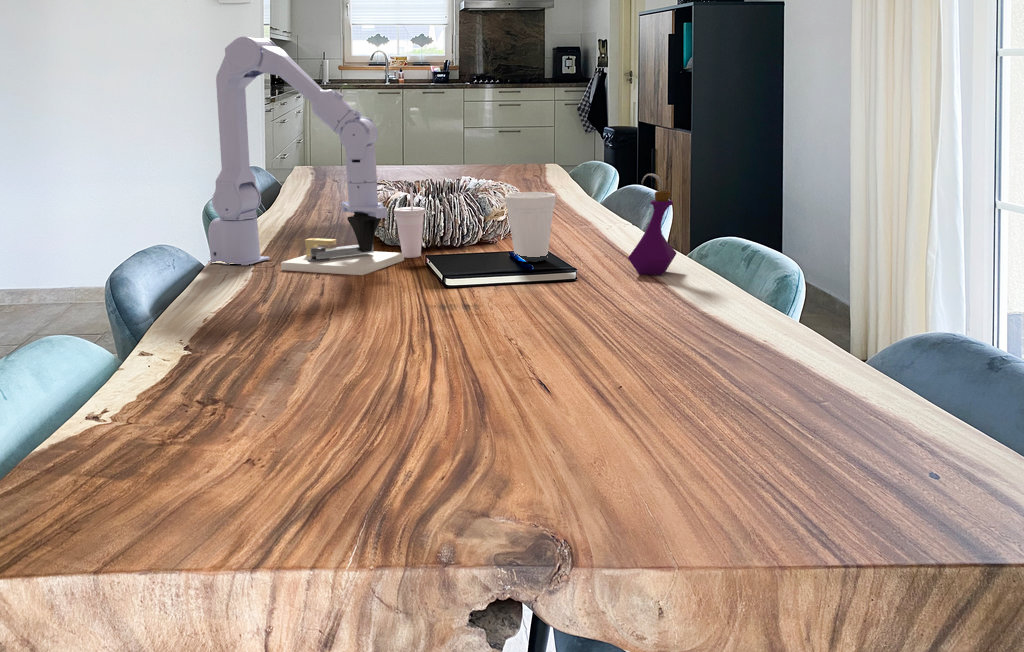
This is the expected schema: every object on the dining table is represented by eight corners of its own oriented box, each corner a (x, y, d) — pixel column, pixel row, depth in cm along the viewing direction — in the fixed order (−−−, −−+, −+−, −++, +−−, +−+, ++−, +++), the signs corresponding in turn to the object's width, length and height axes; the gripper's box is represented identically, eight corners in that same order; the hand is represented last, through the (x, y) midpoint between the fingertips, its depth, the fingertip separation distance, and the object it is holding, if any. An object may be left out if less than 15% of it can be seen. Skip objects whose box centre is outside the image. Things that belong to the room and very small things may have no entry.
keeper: (306, 256, 200) (304, 239, 199) (311, 254, 202) (310, 238, 201) (331, 257, 198) (330, 240, 197) (337, 255, 200) (336, 239, 199)
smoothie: (422, 259, 203) (419, 189, 199) (391, 258, 204) (388, 189, 201) (430, 253, 209) (428, 185, 205) (401, 253, 210) (398, 185, 207)
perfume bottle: (676, 270, 186) (678, 171, 182) (669, 277, 179) (670, 176, 175) (636, 268, 189) (637, 171, 184) (627, 275, 182) (628, 175, 177)
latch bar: (315, 259, 193) (314, 249, 193) (308, 257, 195) (308, 247, 195) (373, 252, 200) (373, 242, 199) (367, 250, 202) (366, 241, 202)
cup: (566, 259, 199) (565, 193, 196) (540, 268, 191) (539, 198, 188) (523, 255, 204) (522, 190, 201) (495, 263, 196) (494, 196, 193)
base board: (281, 270, 194) (280, 261, 194) (327, 256, 208) (326, 247, 208) (362, 275, 187) (361, 266, 187) (404, 260, 202) (403, 251, 201)
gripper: (399, 182, 192) (403, 253, 195) (361, 177, 203) (365, 244, 206) (367, 185, 187) (371, 257, 191) (330, 180, 199) (334, 248, 202)
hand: (366, 251), depth 198 cm, fingers closed, pressing on latch bar
